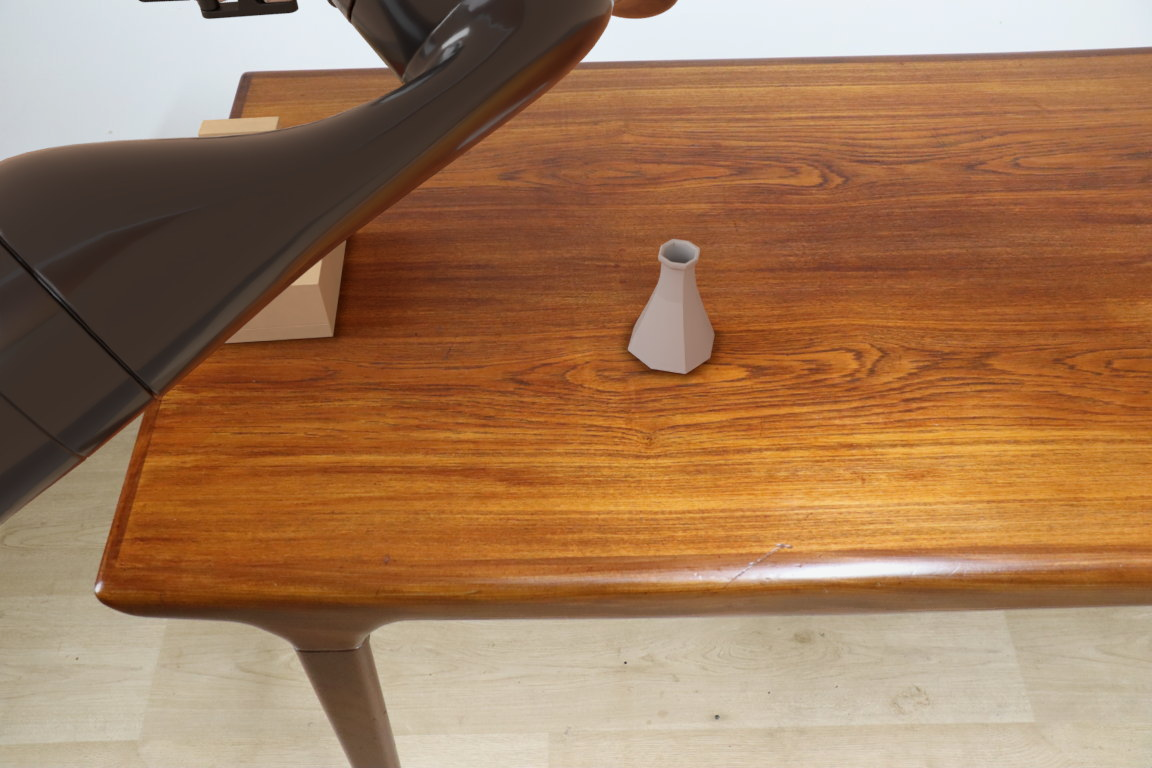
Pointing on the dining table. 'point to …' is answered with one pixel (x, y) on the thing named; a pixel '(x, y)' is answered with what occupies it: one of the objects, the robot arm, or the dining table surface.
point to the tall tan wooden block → (238, 126)
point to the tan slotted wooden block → (300, 306)
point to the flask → (674, 315)
